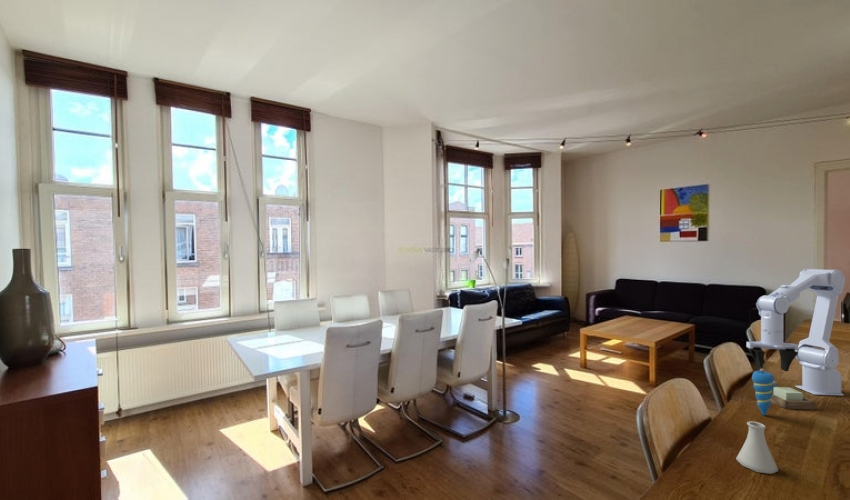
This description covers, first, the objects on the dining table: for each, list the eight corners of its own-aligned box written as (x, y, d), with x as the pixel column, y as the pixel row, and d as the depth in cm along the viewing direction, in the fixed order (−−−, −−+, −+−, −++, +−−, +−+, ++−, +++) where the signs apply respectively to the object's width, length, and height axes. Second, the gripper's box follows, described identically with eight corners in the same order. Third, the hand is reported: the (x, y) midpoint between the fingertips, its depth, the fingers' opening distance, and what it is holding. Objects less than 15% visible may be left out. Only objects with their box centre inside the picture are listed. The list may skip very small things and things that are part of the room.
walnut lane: (815, 409, 120) (815, 402, 120) (784, 408, 121) (784, 401, 121) (794, 400, 128) (794, 393, 128) (766, 399, 128) (766, 392, 128)
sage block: (803, 406, 122) (802, 391, 122) (786, 406, 123) (786, 391, 123) (776, 394, 132) (776, 380, 132) (761, 394, 133) (761, 380, 133)
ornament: (779, 419, 113) (778, 370, 113) (759, 418, 114) (758, 369, 114) (767, 412, 118) (766, 364, 118) (748, 411, 120) (747, 364, 120)
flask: (729, 458, 93) (728, 418, 93) (756, 456, 94) (755, 416, 94) (757, 475, 86) (756, 432, 86) (786, 474, 86) (785, 430, 86)
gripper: (756, 332, 128) (756, 372, 128) (805, 334, 125) (805, 374, 125) (742, 327, 135) (742, 365, 135) (789, 329, 132) (789, 368, 132)
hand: (771, 369), depth 130 cm, fingers open, 7 cm apart
